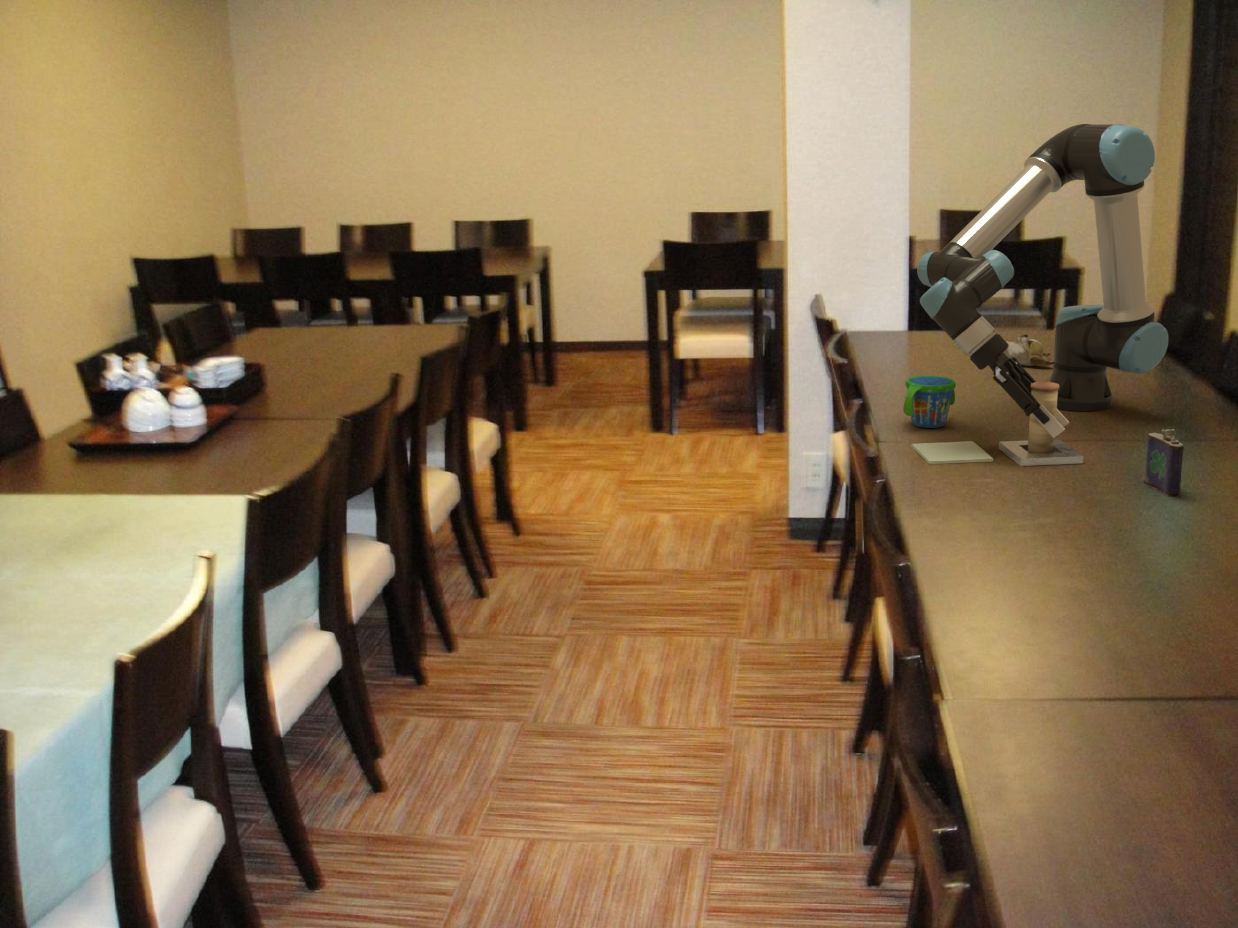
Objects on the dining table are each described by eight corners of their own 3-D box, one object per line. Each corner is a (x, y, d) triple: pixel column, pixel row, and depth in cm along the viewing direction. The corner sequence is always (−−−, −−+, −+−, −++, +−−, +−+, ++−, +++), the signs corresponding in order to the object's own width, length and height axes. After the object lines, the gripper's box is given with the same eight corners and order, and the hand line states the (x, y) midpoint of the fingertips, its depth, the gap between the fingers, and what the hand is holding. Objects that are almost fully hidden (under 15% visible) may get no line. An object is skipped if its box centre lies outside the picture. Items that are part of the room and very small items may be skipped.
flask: (1140, 481, 243) (1146, 422, 239) (1155, 480, 243) (1161, 421, 240) (1169, 497, 233) (1175, 436, 230) (1185, 496, 234) (1191, 435, 230)
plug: (1048, 447, 263) (1053, 381, 259) (1058, 455, 258) (1063, 387, 254) (1022, 449, 263) (1026, 382, 259) (1032, 456, 257) (1036, 388, 253)
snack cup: (935, 414, 294) (937, 371, 291) (971, 423, 285) (973, 379, 282) (886, 425, 286) (887, 381, 283) (921, 435, 277) (923, 389, 274)
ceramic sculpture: (995, 329, 343) (1053, 332, 342) (991, 360, 346) (1048, 364, 344) (1002, 337, 333) (1061, 340, 332) (998, 369, 336) (1057, 373, 334)
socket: (1058, 446, 267) (1058, 439, 266) (1082, 463, 255) (1083, 456, 254) (998, 448, 266) (999, 441, 266) (1020, 466, 254) (1021, 458, 254)
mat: (972, 444, 270) (972, 441, 270) (993, 461, 257) (993, 458, 257) (911, 446, 269) (911, 443, 269) (929, 464, 257) (929, 461, 257)
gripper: (977, 347, 269) (1054, 430, 267) (958, 365, 254) (1039, 453, 251) (1004, 324, 265) (1082, 407, 263) (987, 340, 250) (1069, 429, 247)
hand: (1061, 429), depth 257 cm, fingers closed on plug, 5 cm apart
